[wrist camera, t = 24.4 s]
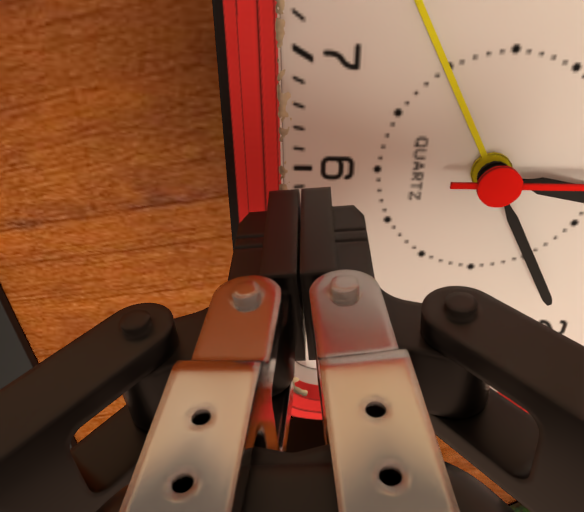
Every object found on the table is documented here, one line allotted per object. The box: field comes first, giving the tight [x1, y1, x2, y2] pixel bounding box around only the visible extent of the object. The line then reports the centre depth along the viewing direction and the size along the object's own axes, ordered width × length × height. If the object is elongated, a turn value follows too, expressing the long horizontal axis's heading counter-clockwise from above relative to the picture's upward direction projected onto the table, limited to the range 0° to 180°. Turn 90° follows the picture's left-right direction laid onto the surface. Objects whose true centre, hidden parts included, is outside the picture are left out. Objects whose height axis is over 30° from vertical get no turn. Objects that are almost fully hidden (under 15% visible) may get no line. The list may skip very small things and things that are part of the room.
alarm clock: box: [212, 0, 584, 420], centre depth 20 cm, size 10×20×16 cm
